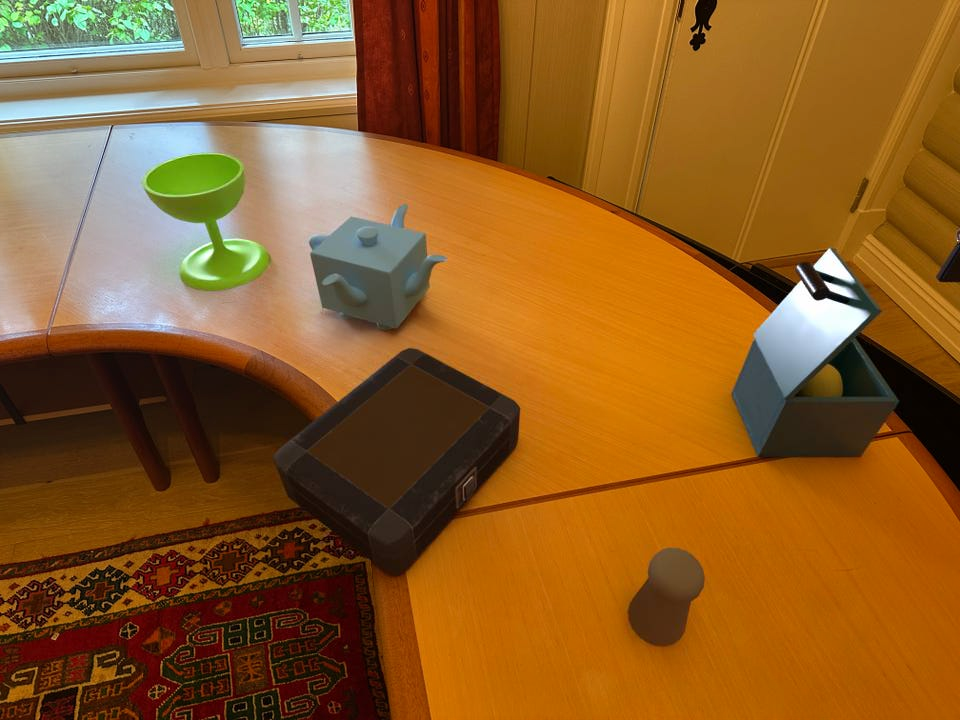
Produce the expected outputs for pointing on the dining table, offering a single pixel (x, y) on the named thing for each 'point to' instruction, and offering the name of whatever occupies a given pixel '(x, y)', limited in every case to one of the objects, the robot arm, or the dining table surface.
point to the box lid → (814, 322)
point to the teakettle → (372, 269)
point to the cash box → (399, 456)
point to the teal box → (813, 409)
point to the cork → (666, 597)
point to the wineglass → (207, 216)
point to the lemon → (823, 384)
